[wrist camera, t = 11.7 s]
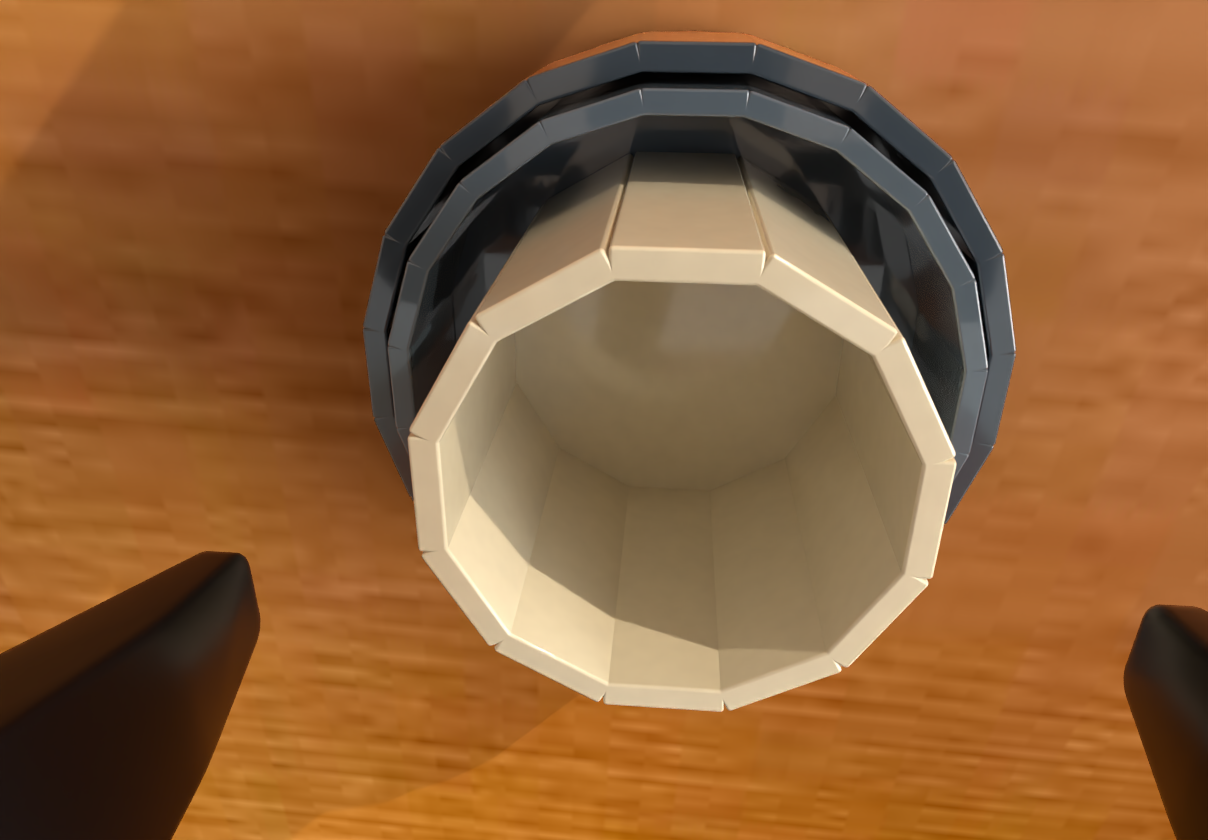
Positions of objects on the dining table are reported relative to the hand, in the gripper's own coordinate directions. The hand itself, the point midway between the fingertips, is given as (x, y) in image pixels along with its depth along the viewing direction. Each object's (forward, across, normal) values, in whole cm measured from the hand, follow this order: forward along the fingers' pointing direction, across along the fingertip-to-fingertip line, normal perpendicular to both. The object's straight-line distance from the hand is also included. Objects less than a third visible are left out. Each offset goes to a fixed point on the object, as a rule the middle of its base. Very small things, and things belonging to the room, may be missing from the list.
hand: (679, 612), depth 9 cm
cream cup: (+8, 0, 0) cm, 8 cm away
